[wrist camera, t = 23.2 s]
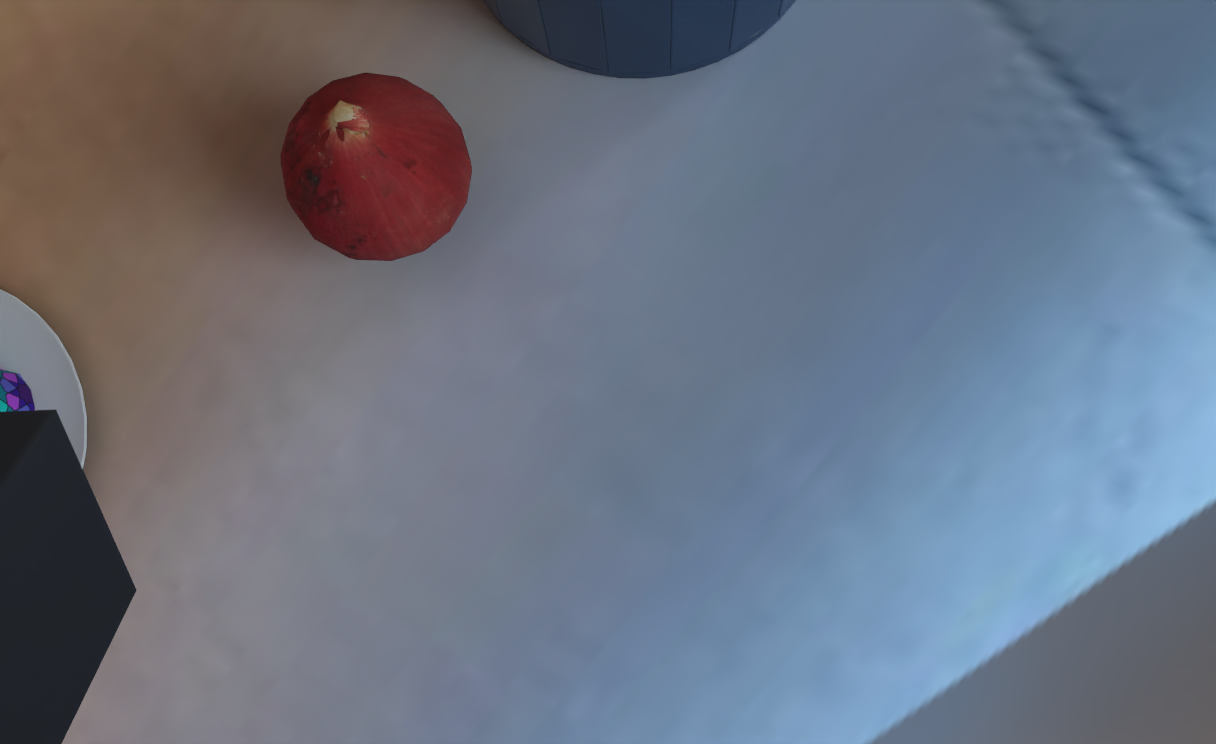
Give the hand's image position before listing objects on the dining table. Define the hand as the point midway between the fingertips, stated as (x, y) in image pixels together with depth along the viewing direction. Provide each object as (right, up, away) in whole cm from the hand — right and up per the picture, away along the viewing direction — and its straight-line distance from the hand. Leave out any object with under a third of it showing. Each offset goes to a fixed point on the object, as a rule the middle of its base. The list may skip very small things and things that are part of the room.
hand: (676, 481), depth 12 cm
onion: (-8, +7, +27) cm, 29 cm away
